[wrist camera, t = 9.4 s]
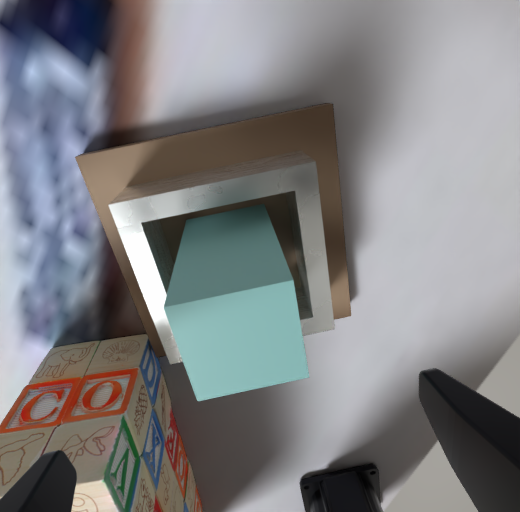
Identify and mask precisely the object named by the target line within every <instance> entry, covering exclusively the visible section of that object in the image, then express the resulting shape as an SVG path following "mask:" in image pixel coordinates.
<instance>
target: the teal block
mask: <svg viewBox="0 0 520 512" xmlns="http://www.w3.org/2000/svg"><path fill="white" fill-rule="evenodd" d="M163 308H164V311H165V313H166V316H167V319H168V322H169V324H170V327H171V330H172V333H173V335H174V338H175V341H176V344H177V346H178V349H179V352H180V355H181V357H182V360H183V363H184V366H185V368H186V371H187V374H188V377H189V379H190V382H191V385H192V388H193V390H194V393H195V396H196V399H197V401H202V400H207V399H211V398H216V397H221V396H225V395H230V394H235V393H239V392H244V391H249V390H253V389H258V388H262V387H267V386H272V385H276V384H281V383H286V382H290V381H295V380H300V379H304V378H309V372H308V366H307V360H306V354H305V348H304V342H303V336H302V330H301V323H300V317H299V311H298V305H297V299H296V293H295V287H294V281H293V278H292V275H291V272H290V270H289V267H288V265H287V262H286V259H285V257H284V254H283V252H282V249H281V246H280V244H279V241H278V239H277V236H276V233H275V231H274V228H273V226H272V223H271V220H270V218H269V215H268V213H267V210H266V207H265V205H264V204H260V205H256V206H251V207H246V208H241V209H236V210H232V211H227V212H222V213H217V214H212V215H208V216H203V217H198V218H193V219H189V220H186V223H185V227H184V231H183V235H182V239H181V242H180V246H179V250H178V254H177V258H176V261H175V265H174V269H173V273H172V277H171V280H170V284H169V288H168V292H167V296H166V300H165V303H164V307H163Z"/></svg>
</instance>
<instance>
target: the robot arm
mask: <svg viewBox="0 0 520 512" xmlns="http://www.w3.org/2000/svg"><path fill="white" fill-rule="evenodd" d="M419 399H420V402H421V405H422V407H423V409H424V411H425V413H426V415H427V417H428V419H429V421H430V424H431V426H432V428H433V430H434V432H435V434H436V436H437V438H438V440H439V442H440V444H441V446H442V448H443V450H444V453H445V455H446V457H447V459H448V461H449V463H450V465H451V467H452V468H453V470H454V472H455V473H456V475H457V477H458V479H459V480H460V482H461V484H462V485H463V487H464V488H465V490H466V492H467V493H468V495H469V496H470V498H471V500H472V502H473V503H474V505H475V507H476V508H477V510H478V512H520V418H519V417H517V416H515V415H514V414H512V413H510V412H509V411H507V410H506V409H504V408H502V407H501V406H499V405H497V404H496V403H494V402H492V401H491V400H489V399H487V398H486V397H484V396H482V395H480V394H479V393H477V392H476V391H474V390H472V389H471V388H469V387H467V386H466V385H464V384H462V383H461V382H459V381H457V380H456V379H454V378H452V377H451V376H449V375H447V374H446V373H444V372H442V371H441V370H439V369H436V368H433V369H428V370H424V371H421V372H420V373H419ZM76 482H77V472H76V469H75V467H74V466H73V464H72V463H71V461H70V460H69V458H68V457H67V455H66V454H65V452H64V451H62V450H57V451H52V452H48V453H45V454H43V455H42V456H41V457H40V458H39V459H38V460H37V461H36V462H35V463H34V464H33V465H32V466H31V467H30V468H29V469H28V470H27V471H26V472H25V473H24V475H23V476H22V477H21V478H20V479H19V480H18V481H17V482H16V483H15V484H14V485H13V486H12V487H11V488H10V489H9V490H8V491H7V493H6V494H5V495H4V496H3V497H2V498H1V499H0V512H71V510H72V504H73V499H74V493H75V488H76ZM300 489H301V493H302V498H303V502H304V507H305V511H306V512H383V510H382V508H381V504H380V487H379V471H378V469H377V467H376V465H374V464H370V465H365V466H361V467H356V468H352V469H347V470H343V471H338V472H334V473H329V474H325V475H320V476H315V477H311V478H306V479H303V480H301V481H300Z"/></svg>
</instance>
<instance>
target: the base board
mask: <svg viewBox="0 0 520 512" xmlns="http://www.w3.org/2000/svg"><path fill="white" fill-rule="evenodd" d="M299 150H301V151H302V152H304V153H305V154H306V155H308V156H309V157H310V158H312V159H313V160H314V161H316V168H317V177H318V185H319V194H320V203H321V212H322V221H323V229H324V238H325V247H326V256H327V265H328V273H329V282H330V291H331V300H332V309H333V317H334V319H339V318H344V317H348V316H351V307H350V296H349V284H348V273H347V261H346V250H345V238H344V226H343V215H342V203H341V192H340V180H339V169H338V157H337V146H336V134H335V122H334V111H333V104H331V103H325V104H320V105H315V106H310V107H305V108H301V109H296V110H291V111H286V112H281V113H276V114H272V115H267V116H262V117H257V118H252V119H247V120H243V121H238V122H233V123H228V124H223V125H218V126H214V127H209V128H204V129H199V130H194V131H189V132H184V133H180V134H175V135H170V136H165V137H160V138H155V139H151V140H146V141H141V142H136V143H131V144H126V145H122V146H117V147H112V148H107V149H102V150H97V151H93V152H88V153H83V154H81V155H78V156H76V157H75V158H76V161H77V163H78V166H79V168H80V171H81V173H82V176H83V178H84V180H85V183H86V185H87V188H88V190H89V193H90V195H91V198H92V200H93V203H94V205H95V208H96V210H97V213H98V215H99V217H100V220H101V222H102V225H103V227H104V230H105V232H106V235H107V237H108V240H109V242H110V245H111V247H112V249H113V252H114V254H115V257H116V259H117V262H118V264H119V267H120V269H121V272H122V274H123V277H124V279H125V282H126V284H127V286H128V289H129V291H130V294H131V296H132V299H133V301H134V304H135V306H136V309H137V311H138V314H139V316H140V319H141V321H142V323H143V326H144V328H145V331H146V333H147V336H148V338H149V341H150V343H151V346H152V348H153V351H154V353H155V355H156V358H157V357H162V356H167V355H166V353H165V350H164V347H163V345H162V342H161V340H160V337H159V335H158V332H157V329H156V327H155V324H154V322H153V319H152V316H151V314H150V311H149V309H148V306H147V304H146V301H145V298H144V296H143V293H142V291H141V288H140V286H139V283H138V280H137V278H136V275H135V273H134V270H133V268H132V265H131V262H130V260H129V257H128V255H127V252H126V249H125V247H124V244H123V242H122V239H121V237H120V234H119V231H118V229H117V226H116V224H115V221H114V219H113V216H112V213H111V211H110V208H109V206H108V205H109V203H110V202H111V201H112V200H113V199H114V198H115V197H116V196H117V195H118V194H119V193H120V192H121V191H122V190H123V189H124V188H125V187H126V186H131V185H136V184H141V183H145V182H150V181H155V180H160V179H165V178H169V177H174V176H179V175H184V174H189V173H193V172H198V171H203V170H208V169H213V168H217V167H222V166H227V165H232V164H237V163H241V162H246V161H251V160H256V159H261V158H265V157H270V156H275V155H280V154H285V153H289V152H294V151H299ZM260 204H264V205H265V207H266V210H267V213H268V215H269V218H270V220H271V223H272V226H273V228H274V231H275V233H276V236H277V239H278V241H279V244H280V246H281V249H282V252H283V254H284V257H285V259H286V262H287V265H288V267H289V270H290V272H291V275H292V278H293V281H294V287H295V288H298V287H301V285H300V278H299V272H298V266H297V259H296V253H295V246H294V240H293V233H292V227H291V221H290V214H289V208H288V201H287V195H286V192H285V193H281V194H276V195H271V196H266V197H262V198H257V199H252V200H247V201H242V202H238V203H233V204H228V205H223V206H219V207H214V208H209V209H204V210H200V211H195V212H190V213H185V214H180V215H176V216H171V217H166V218H161V219H159V221H160V224H161V227H162V230H163V233H164V236H165V239H166V242H167V245H168V248H169V251H170V254H171V257H172V260H173V263H174V265H175V261H176V258H177V254H178V250H179V246H180V242H181V239H182V235H183V231H184V227H185V223H186V220H189V219H193V218H198V217H203V216H208V215H212V214H217V213H222V212H227V211H232V210H236V209H241V208H246V207H251V206H256V205H260Z"/></svg>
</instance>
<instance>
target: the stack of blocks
mask: <svg viewBox="0 0 520 512" xmlns="http://www.w3.org/2000/svg"><path fill="white" fill-rule="evenodd" d="M57 450H62V451H64V452H65V454H66V455H67V457H68V458H69V460H70V461H71V463H72V464H73V466H74V467H75V469H76V472H77V482H76V488H75V493H74V499H73V504H72V510H71V512H203V511H202V504H201V500H200V497H199V493H198V490H197V486H196V483H195V479H194V475H193V472H192V468H191V465H190V462H189V461H188V460H187V457H186V454H185V450H184V446H183V443H182V440H181V436H180V435H179V434H178V429H177V425H176V422H175V419H174V416H173V412H172V409H171V400H170V396H169V393H168V390H167V386H166V383H165V379H164V376H163V373H162V371H161V368H160V364H159V360H158V357H157V358H156V355H155V353H154V351H153V348H152V346H151V343H150V341H149V338H148V336H147V334H143V335H135V336H128V337H121V338H115V339H108V340H103V341H91V342H84V343H78V344H71V345H65V346H60V347H55V348H52V349H51V350H50V351H49V352H48V354H47V355H46V357H45V358H44V360H43V361H42V363H41V364H40V366H39V367H38V369H37V371H36V372H35V374H34V375H33V377H32V379H31V380H30V382H29V385H27V386H25V388H24V389H23V390H22V392H21V394H20V395H19V397H18V398H17V400H16V401H15V403H14V405H13V406H12V408H11V409H10V411H9V412H8V414H7V415H6V417H5V418H4V420H3V421H2V423H1V425H0V499H1V498H2V497H3V496H4V495H5V494H6V493H7V491H8V490H9V489H10V488H11V487H12V486H13V485H14V484H15V483H16V482H17V481H18V480H19V479H20V478H21V477H22V476H23V475H24V473H25V472H26V471H27V470H28V469H29V468H30V467H31V466H32V465H33V464H34V463H35V462H36V461H37V460H38V459H39V458H40V457H41V456H42V455H43V454H45V453H48V452H52V451H57Z"/></svg>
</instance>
